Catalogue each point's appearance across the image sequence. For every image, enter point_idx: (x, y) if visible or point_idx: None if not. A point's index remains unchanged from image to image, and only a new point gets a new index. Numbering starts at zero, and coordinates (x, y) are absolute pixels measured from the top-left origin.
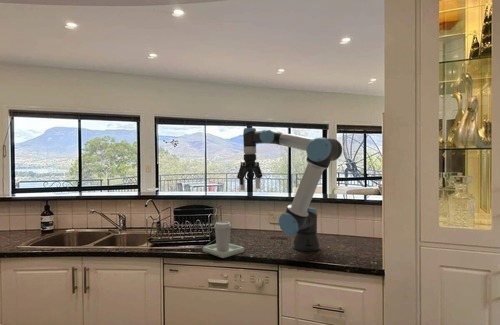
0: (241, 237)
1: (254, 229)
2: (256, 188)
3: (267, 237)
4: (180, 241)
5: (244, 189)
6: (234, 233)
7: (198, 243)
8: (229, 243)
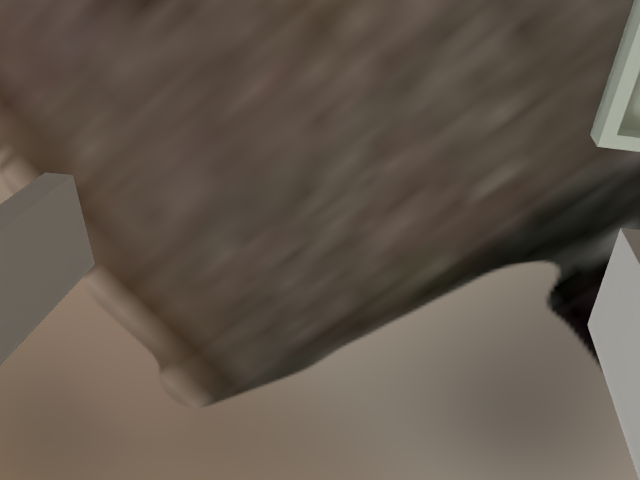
0: (308, 183)
1: None
2: (87, 246)
3: (173, 26)
4: None
5: (638, 242)
6: (259, 280)
7: None
8: (623, 74)
